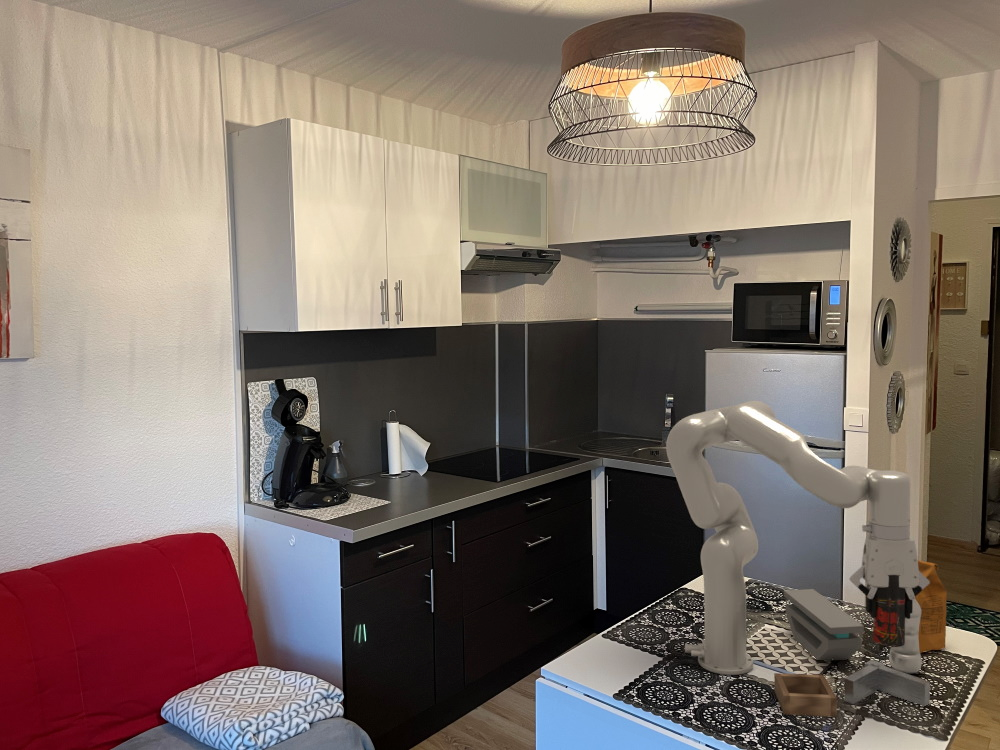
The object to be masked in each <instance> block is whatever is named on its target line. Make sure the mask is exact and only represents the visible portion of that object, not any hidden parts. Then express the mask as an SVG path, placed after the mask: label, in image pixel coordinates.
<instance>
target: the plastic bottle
mask: <svg viewBox="0 0 1000 750" xmlns="http://www.w3.org/2000/svg"><path fill="white" fill-rule="evenodd" d="M920 618H921V607H920V605H919V603H918V602H917V600H916V599H914V600H913V610H912V613H910V619H907V618H905V644H904V645H903V646H901V647H890V650H889V656H888V661H889V665H890V666H891V667H892V668H891V669H894V670H897V671H900V672H903V673H906V674H909V675H911V674H916V673H918V672H919V671H920V670H921V668H922V663H923V662H922V656H921V653H920V650H919V639H918V637H919V634H918V633H919V624H920Z"/></svg>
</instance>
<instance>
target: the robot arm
mask: <svg viewBox="0 0 1000 750" xmlns="http://www.w3.org/2000/svg"><path fill="white" fill-rule="evenodd" d="M734 441H739V442H741V443H743V444H744V445H746V446H747V447H749V448H750V449H752V450H755V451H756V452H757V453H759V454H761V455H762V456H763V457H766V458H767V459H769V460H770V461H772V462H773V463H775V464H777V465H778V466H780V468H782V470H783V471H784V472H785V473H786V474H787V475H788V476H789V477H790V478H791V479H792V480H793V481H795V483H796V484H798V485H799V486H800V487H801V488H803V489H804V490H805V491H807V492H808V493H810V494H812V495H814V496H815V497H816V498H818V499H820V500H821V501H823V502H824V503H827V504H828V505H830V506H833V507H836V508H838V509H851V508H854V507H856V506H857V505H858V504H860V503H861V502H864V501H869V520H868V523H867V524H865V525H864V524H863V525H862V526H861V527H862V529H861V530H862V532H865V533H868V534H867V535H866V536H865V540H864V545H863V550H862V556H861V557H862V558H861V559H862V560H861V566H860V567H859V568H858V569H857V570H856V571H855V572H854V573H853V574H851V576H850V577H849V581H850V582H851V583H852V584H853V585H854V586H855V587H856V588H857V589H858V590H859V591H860V592H861V593H862V594H863V595H865V611H866V612H867V613H868V615H870V617H871V618H872V619H873V618H875V617H876V599H875V598H874V595H875V593H876V590H877V588H885V587H888V583H889V576H888V575H900V576H899V587H901V588H905V618H907V619H910V613H912V610H913V600H914V599H915V596H916V595H918V594H919V593H920V592H921V591H922V589H924V588H925V587H926V586H927V585H928V584H929V583H930V581H929V580H928V579H927V578H926V577H925V576H924V575H923V574H922V573H921V572H920V571H919V569H918V560H919V558H918V551H917V545H916V541H915V539H914V538H913V537H911V479H910V476H909V475H908V473H905V472H902V471H898V470H890V469H889V470H886V469H885V470H878V469H872V468H868V467H864V466H859V465H847V466H844V467H842V468H840V469H839V468H837V467H835V466H833V465H832V464H830V463H828V462H827V461H825V460H823V459H822V458H820V457H819V456H818V455H817V454H816V453H814V452H813V451H812V449H811V448H810V447H809V446H808V443H807V440H806V438H805V436H804V435H803V434H802V433H801V432H800V431H798V430H796V429H794V428H792V427H791V426H789V425H787V424H786V423H784V422H783V421H781V420H778V419H777V418H776V417H775V413H774V410H773V408H771V407H770V406H769V405H768V404H767V403H765V402H764V401H760V400H749V401H745V402H741V403H739V404H734V405H729V406H725V407H721V408H715V409H710V410H706V411H702V412H698V413H693V414H691V415H688V416H686V417H684V418H682V419H681V420H678V422H676V423H675V425H673V426H672V429H670V432H669V433H668V435H667V439H666V445H665V446H666V447H665V450H666V451H665V452H666V454H667V458H668V462H669V464H670V466H671V469H672V470H673V474H674V475H675V478H676V481H677V483H678V487H679V489H680V491H681V494H682V497H683V499H684V502H685V505H686V507H687V510H688V513H689V515H690V519H691V520H692V521H693V523H694V524H695V525H696V526H697V527H698V528H701V529H703V530H712V529H714V531H715V532H716V533H714V534H713V535H711V536H710V537H708V539H706V540H705V542H704V543H703V544H702V548H701V551H700V564H701V569H702V577H703V599H704V639H702V641H701V642H702V643H698V644H692V643H691V644H687V643H685V644H684V652H685V653H688V654H690V656H691V657H697V662H698V665H700V667H702V668H703V669H704V670H706V671H709V672H710V673H711V672H712V673H715V674H719V675H726V676H737V675H744V674H746V673H749V672H750V671H752V670H753V668H754V660H753V658H752V657H751V656H750V655H748V654H747V589H746V580H745V577H744V572H743V571H744V567H745V566H746V565H747V564H748V563H750V562H751V561H752V560H753V559H754V558H755V557H756V555H757V554H758V550H759V541H758V540H759V539H758V535H757V532H756V530H755V527H754V525H753V522H752V520H751V518H750V515H749V512H748V510H747V507H746V505H745V503H744V501H743V498H742V497H741V494H740V493H739V492H738V490H736V488H734V487H733V486H732V485H730V484H728V483H725V482H719V481H718V482H717V480H716V477H715V476H714V473H713V470H712V467H711V466H710V464H709V462H708V461H707V459H706V458H705V457H704V455H703V451H704V450H705V449H708V448H711V447H714V446H716V445H717V446H718V445H720V444H724V443H729V442H734ZM861 579H863V580H864V581H865V582H866V585H864V584H863V583H862V582H861V581H860V580H861Z"/></svg>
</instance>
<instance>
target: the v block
mask: <svg viewBox="0 0 1000 750" xmlns="http://www.w3.org/2000/svg"><path fill="white" fill-rule="evenodd" d="M843 680H844V681H843V682H844V684H843V685H844V687H843V688H844V689H843V690H844V691H843V694H844V695H843V696H844V697H843V698H844V699H843V701H844V702H846V703H848V704H851V705H855V704H857V703H858V702H860V701H862V700H864V699H865V698H867V697H869V696H870V695H873V694H874V693H876V692H878V691H877V690H879V692H882V693H885V694H887V693H888V694H887V695H889V694H890V696H892V697H895V698H897V697H898V699H900V698H901V699H900V700H903V699H904V700H903V701H905V700H907V701H906V702H908V701H910V702H909V703H911V702H913V703H917V704H920V705H923V706H926V705H928V704H929V705H930V700H931V699H930V698H931V697H930V690H931V689H930V688H931V687H930V686H931V684H930V683H931V681H929V680H925V679H924V678H923V679H922V678H920V677H917V676H915V675H911V674H908V673H903V672H900V671H897V670H894V669H893V668H891V667H888V666H886V663H884V662H880V661H878V660H875V659H870V660H869V661H867V662H865V663H864V667H863V668H861V669H859V670H857V671H855V672H853V673H852V674H849V675H848V676H846V677H844V679H843ZM913 703H912V704H913ZM929 705H928V706H929Z"/></svg>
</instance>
